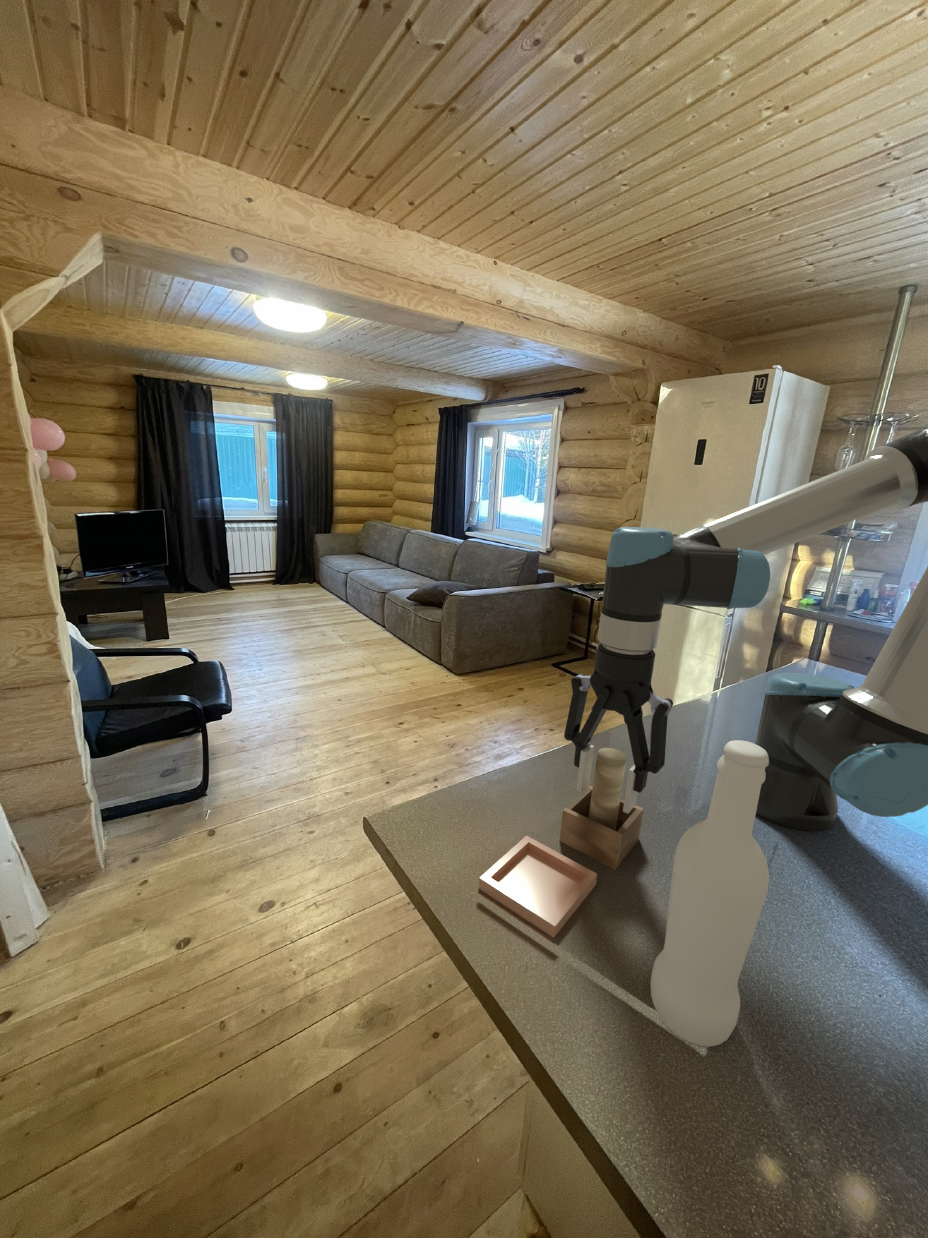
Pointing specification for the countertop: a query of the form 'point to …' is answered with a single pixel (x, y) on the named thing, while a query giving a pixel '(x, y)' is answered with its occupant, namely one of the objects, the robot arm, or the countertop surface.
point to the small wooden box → (600, 831)
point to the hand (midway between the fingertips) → (605, 797)
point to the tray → (538, 885)
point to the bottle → (714, 905)
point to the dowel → (607, 787)
